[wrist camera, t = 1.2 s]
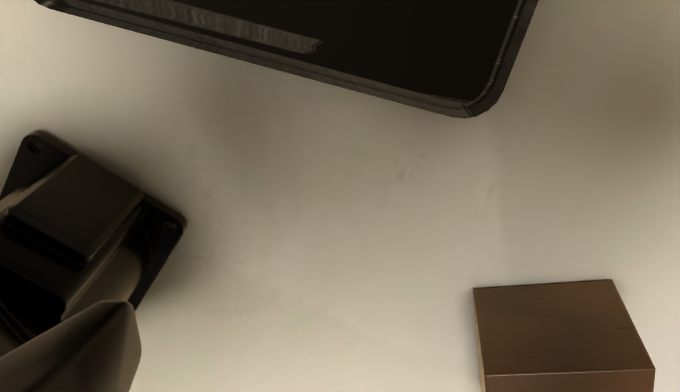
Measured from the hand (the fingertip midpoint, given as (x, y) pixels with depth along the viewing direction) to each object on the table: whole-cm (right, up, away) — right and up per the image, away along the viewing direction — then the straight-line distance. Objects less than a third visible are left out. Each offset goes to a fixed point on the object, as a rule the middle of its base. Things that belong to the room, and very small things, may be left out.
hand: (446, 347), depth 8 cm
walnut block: (+6, -3, +15) cm, 17 cm away
